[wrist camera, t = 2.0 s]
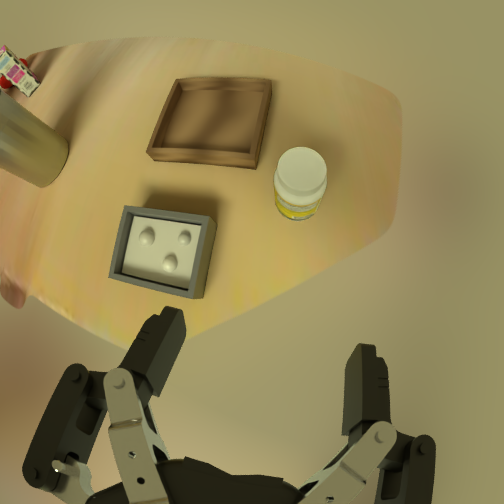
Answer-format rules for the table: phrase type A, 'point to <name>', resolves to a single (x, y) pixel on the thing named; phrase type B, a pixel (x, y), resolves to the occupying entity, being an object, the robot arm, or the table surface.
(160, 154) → the walnut tray
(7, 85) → the tomato
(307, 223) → the table surface
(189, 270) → the bin
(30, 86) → the candy bar box
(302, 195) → the supplement bottle
